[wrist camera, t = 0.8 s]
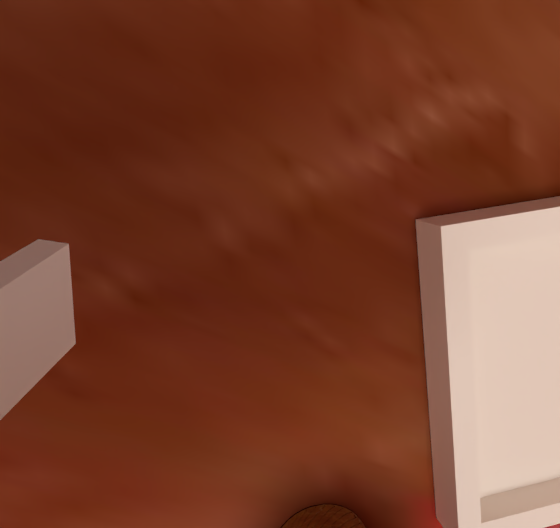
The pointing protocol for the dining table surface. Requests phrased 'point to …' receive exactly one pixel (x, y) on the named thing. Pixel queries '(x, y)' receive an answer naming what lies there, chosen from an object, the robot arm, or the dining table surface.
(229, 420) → the dining table surface
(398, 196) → the dining table surface
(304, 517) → the disposable coffee cup
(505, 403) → the cream tray
